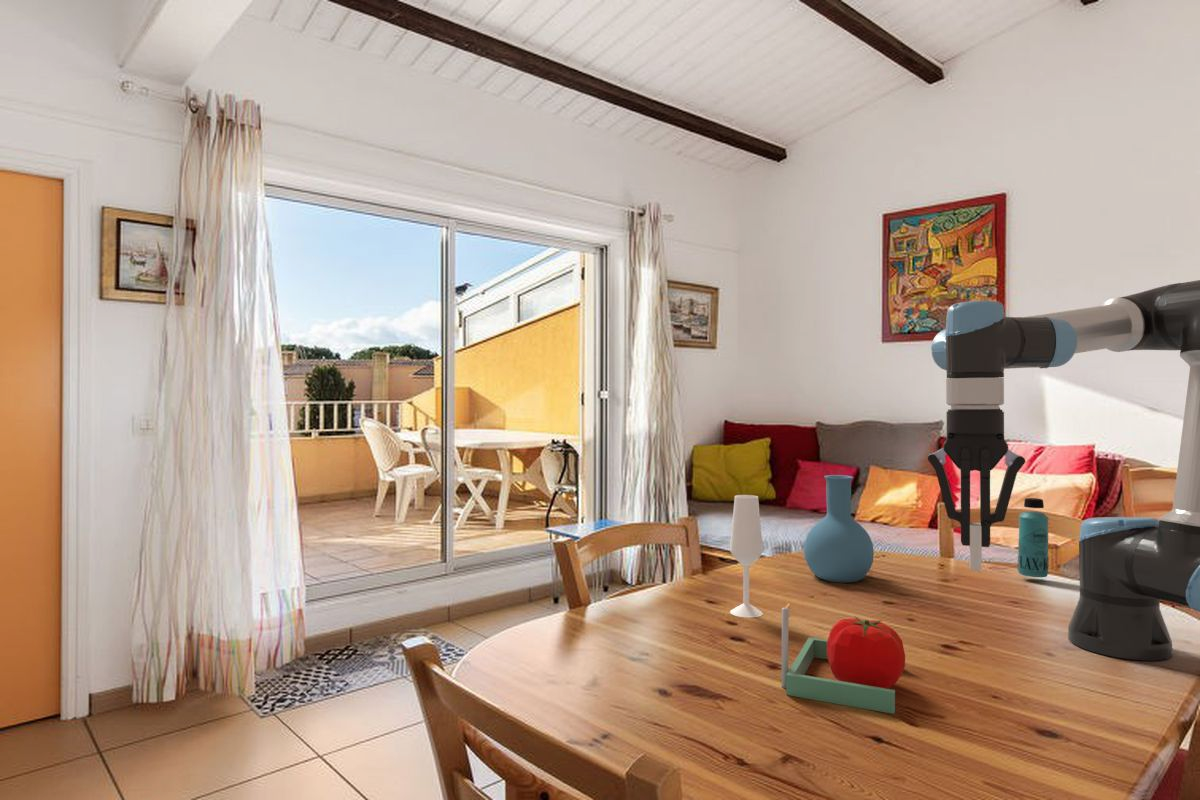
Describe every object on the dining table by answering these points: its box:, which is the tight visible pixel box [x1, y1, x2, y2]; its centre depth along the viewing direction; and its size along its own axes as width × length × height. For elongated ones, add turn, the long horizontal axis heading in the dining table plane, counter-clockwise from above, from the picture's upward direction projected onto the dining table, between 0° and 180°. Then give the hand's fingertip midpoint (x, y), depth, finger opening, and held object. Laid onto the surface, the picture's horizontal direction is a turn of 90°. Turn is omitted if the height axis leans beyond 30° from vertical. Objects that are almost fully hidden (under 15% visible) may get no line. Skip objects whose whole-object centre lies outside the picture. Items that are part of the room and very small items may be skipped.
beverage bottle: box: [1017, 497, 1050, 578], centre depth 177 cm, size 6×7×20 cm
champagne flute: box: [729, 494, 764, 619], centre depth 150 cm, size 7×7×24 cm
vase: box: [803, 474, 875, 584], centre depth 180 cm, size 16×16×25 cm
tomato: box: [827, 616, 906, 689], centre depth 112 cm, size 12×12×10 cm
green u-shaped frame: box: [781, 602, 896, 715], centre depth 114 cm, size 16×19×12 cm
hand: (975, 568), depth 107 cm, fingers closed
